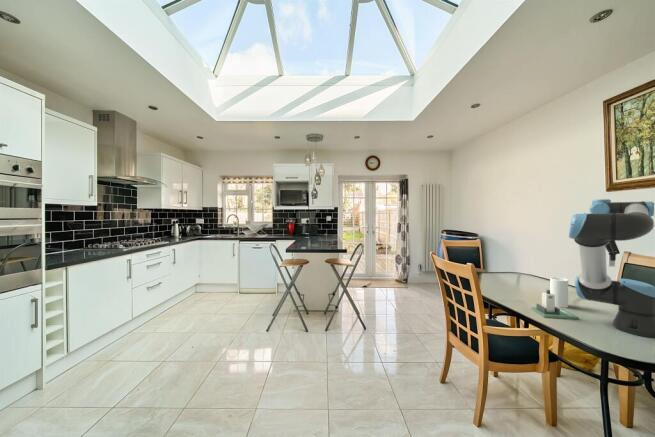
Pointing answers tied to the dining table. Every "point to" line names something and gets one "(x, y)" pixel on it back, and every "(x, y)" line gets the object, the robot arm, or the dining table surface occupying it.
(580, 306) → the dining table surface
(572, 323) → the dining table surface
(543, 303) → the plug
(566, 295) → the cup
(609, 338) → the dining table surface
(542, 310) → the header board
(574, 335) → the dining table surface
